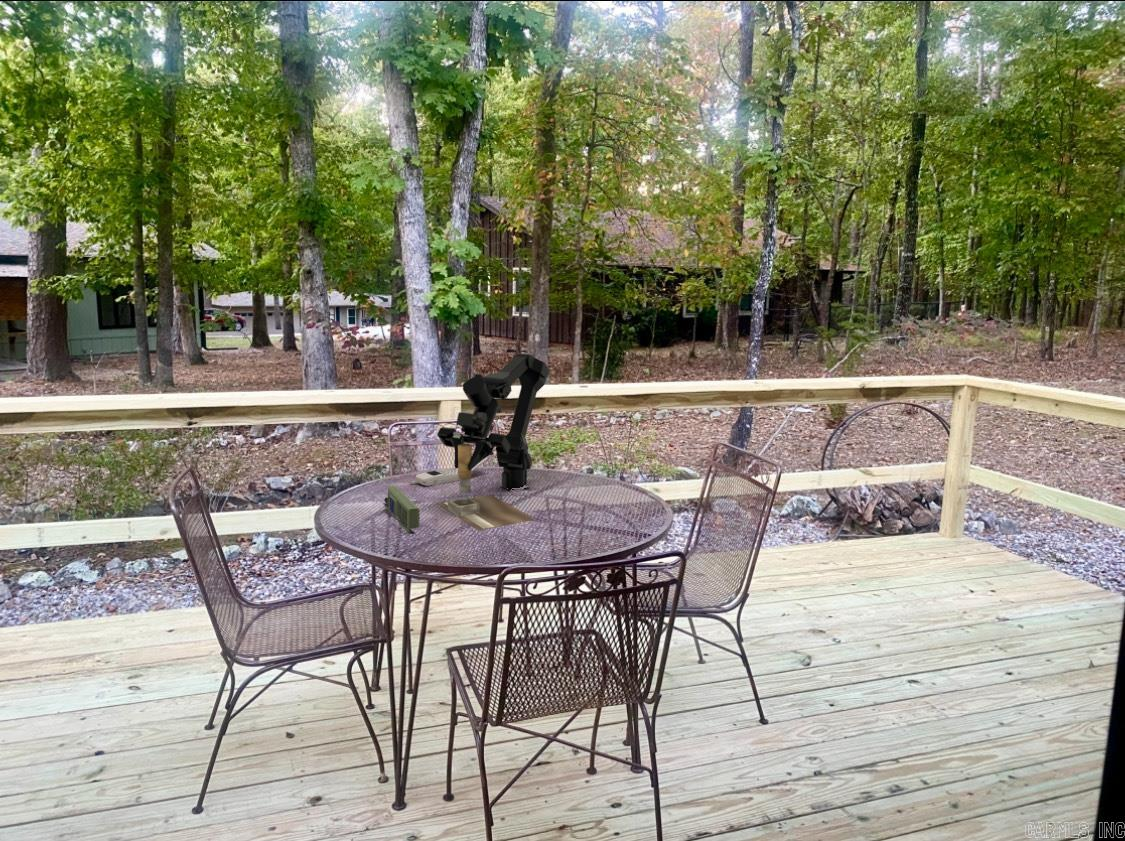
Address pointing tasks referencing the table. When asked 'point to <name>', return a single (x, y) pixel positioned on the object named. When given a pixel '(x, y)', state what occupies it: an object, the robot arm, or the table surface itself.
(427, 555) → the table surface
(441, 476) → the mobile phone
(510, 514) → the board
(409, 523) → the handheld radio
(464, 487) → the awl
